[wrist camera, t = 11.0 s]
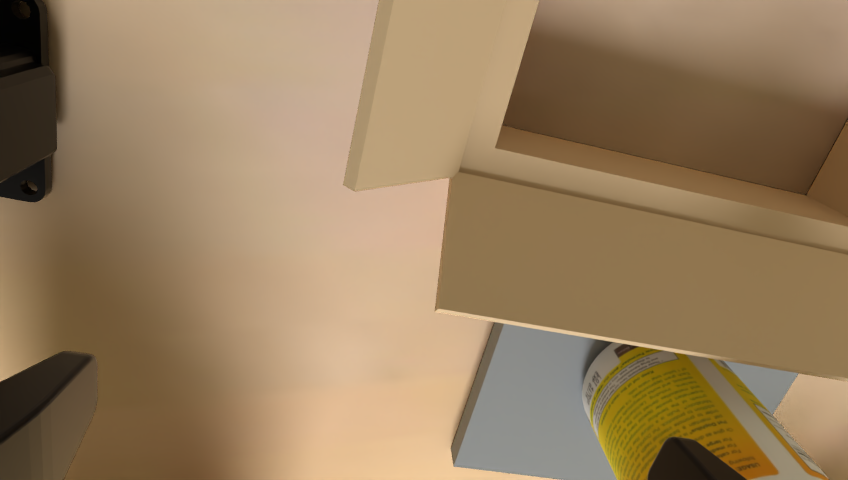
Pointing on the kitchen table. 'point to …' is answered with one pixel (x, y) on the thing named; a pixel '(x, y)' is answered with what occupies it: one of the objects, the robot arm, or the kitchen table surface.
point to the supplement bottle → (684, 414)
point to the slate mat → (552, 405)
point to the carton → (594, 210)
